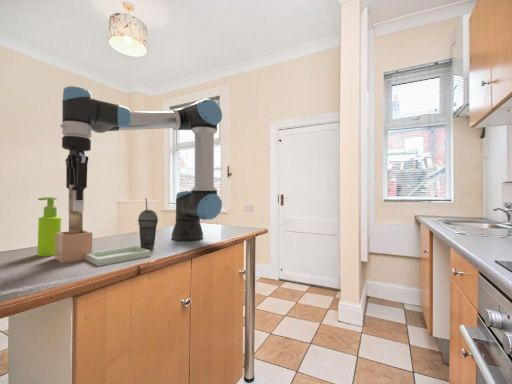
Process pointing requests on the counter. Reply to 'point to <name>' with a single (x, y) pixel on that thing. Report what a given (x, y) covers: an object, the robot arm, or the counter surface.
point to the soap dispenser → (48, 228)
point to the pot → (72, 246)
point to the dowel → (74, 216)
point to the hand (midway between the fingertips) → (75, 210)
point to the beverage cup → (147, 228)
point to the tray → (116, 255)
